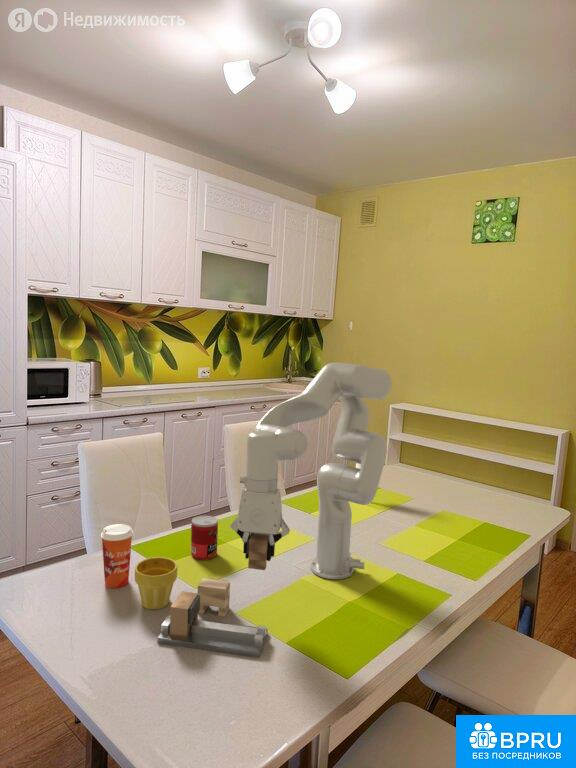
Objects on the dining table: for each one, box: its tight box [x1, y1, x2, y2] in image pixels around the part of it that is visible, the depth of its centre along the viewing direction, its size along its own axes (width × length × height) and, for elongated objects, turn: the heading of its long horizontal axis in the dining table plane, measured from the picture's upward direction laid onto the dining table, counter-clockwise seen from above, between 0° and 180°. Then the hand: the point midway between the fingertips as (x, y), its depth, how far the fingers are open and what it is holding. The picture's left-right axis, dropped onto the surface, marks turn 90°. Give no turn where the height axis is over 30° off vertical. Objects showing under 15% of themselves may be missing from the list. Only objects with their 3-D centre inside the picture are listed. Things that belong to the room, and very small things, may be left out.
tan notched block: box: [197, 577, 231, 617], centre depth 132 cm, size 5×7×7 cm, turn 81°
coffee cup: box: [100, 523, 135, 589], centre depth 142 cm, size 8×8×15 cm
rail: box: [156, 591, 269, 658], centre depth 120 cm, size 23×9×8 cm, turn 81°
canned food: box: [190, 515, 219, 561], centre depth 161 cm, size 8×8×11 cm
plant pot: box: [134, 556, 178, 610], centre depth 133 cm, size 10×10×10 cm
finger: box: [247, 533, 269, 571], centre depth 128 cm, size 5×7×7 cm, turn 171°
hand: (258, 556), depth 128 cm, fingers closed on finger, 4 cm apart
